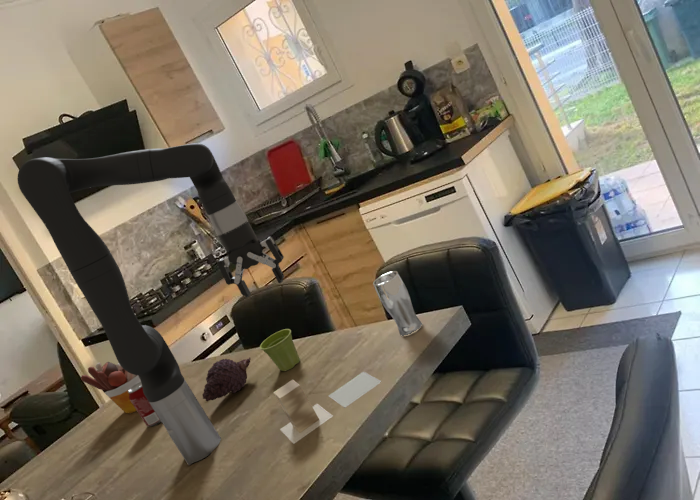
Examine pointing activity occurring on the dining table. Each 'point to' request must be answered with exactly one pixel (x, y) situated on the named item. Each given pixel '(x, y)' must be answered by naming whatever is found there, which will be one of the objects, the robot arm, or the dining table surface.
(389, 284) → the beer glass
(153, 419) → the soda can
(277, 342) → the plant pot
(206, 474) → the dining table surface
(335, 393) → the rest pad
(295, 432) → the tile
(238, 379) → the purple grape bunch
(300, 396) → the beech block
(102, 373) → the bucket of meat
